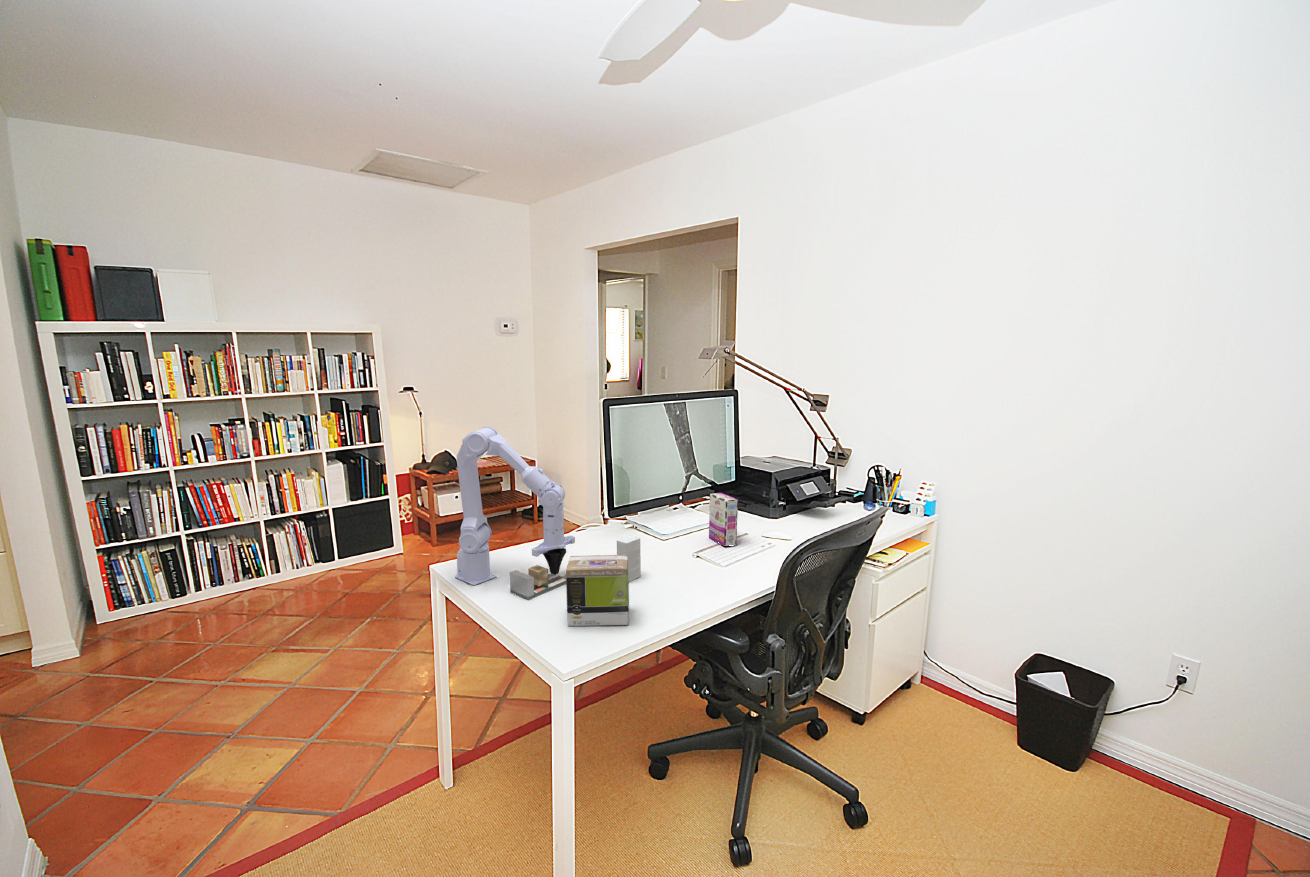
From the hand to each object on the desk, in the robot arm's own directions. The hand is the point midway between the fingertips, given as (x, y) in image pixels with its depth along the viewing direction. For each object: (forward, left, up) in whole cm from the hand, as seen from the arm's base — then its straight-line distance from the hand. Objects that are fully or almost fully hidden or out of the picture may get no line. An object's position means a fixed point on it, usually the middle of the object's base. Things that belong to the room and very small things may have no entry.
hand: (554, 573), depth 163 cm
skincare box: (+15, +15, -3) cm, 22 cm away
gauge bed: (0, -5, -2) cm, 6 cm away
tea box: (+25, -8, -3) cm, 26 cm away
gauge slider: (+1, -6, -1) cm, 6 cm away
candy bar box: (+20, +59, -3) cm, 63 cm away
